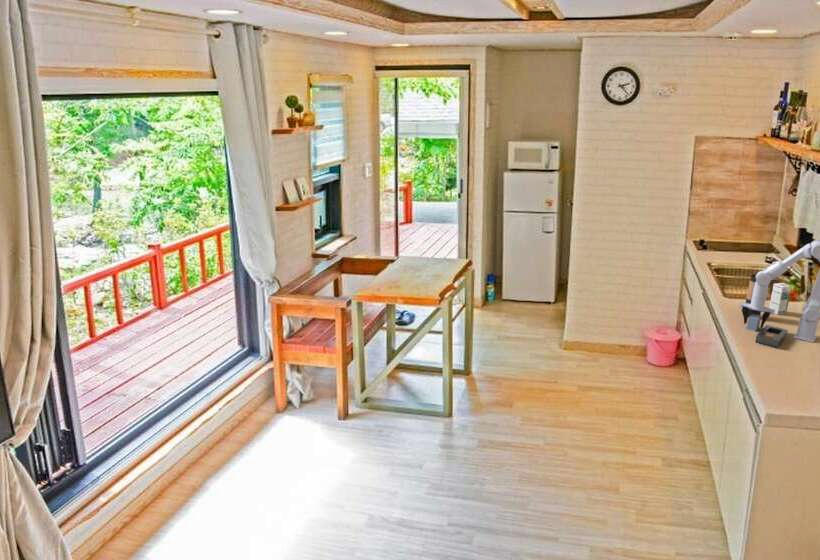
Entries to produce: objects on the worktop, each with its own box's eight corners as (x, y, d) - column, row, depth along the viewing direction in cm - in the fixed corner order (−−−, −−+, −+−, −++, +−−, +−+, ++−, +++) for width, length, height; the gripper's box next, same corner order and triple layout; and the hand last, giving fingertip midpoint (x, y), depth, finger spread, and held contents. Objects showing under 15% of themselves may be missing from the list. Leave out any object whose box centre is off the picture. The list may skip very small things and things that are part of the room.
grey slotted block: (764, 332, 331) (766, 323, 330) (786, 337, 326) (788, 328, 324) (755, 342, 317) (756, 333, 316) (777, 348, 312) (779, 339, 311)
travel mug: (763, 317, 351) (771, 277, 345) (754, 319, 347) (762, 279, 341) (748, 312, 357) (756, 273, 351) (739, 314, 353) (747, 275, 347)
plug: (749, 326, 338) (752, 313, 337) (758, 328, 336) (761, 316, 334) (746, 329, 334) (748, 317, 332) (755, 331, 331) (758, 319, 330)
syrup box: (777, 314, 356) (783, 286, 352) (767, 310, 362) (773, 282, 357) (786, 314, 358) (792, 285, 354) (776, 310, 363) (782, 282, 359)
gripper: (740, 295, 331) (734, 323, 335) (774, 303, 323) (768, 331, 327) (744, 292, 337) (738, 319, 341) (777, 299, 329) (771, 327, 333)
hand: (753, 325), depth 334 cm, fingers open, 6 cm apart
